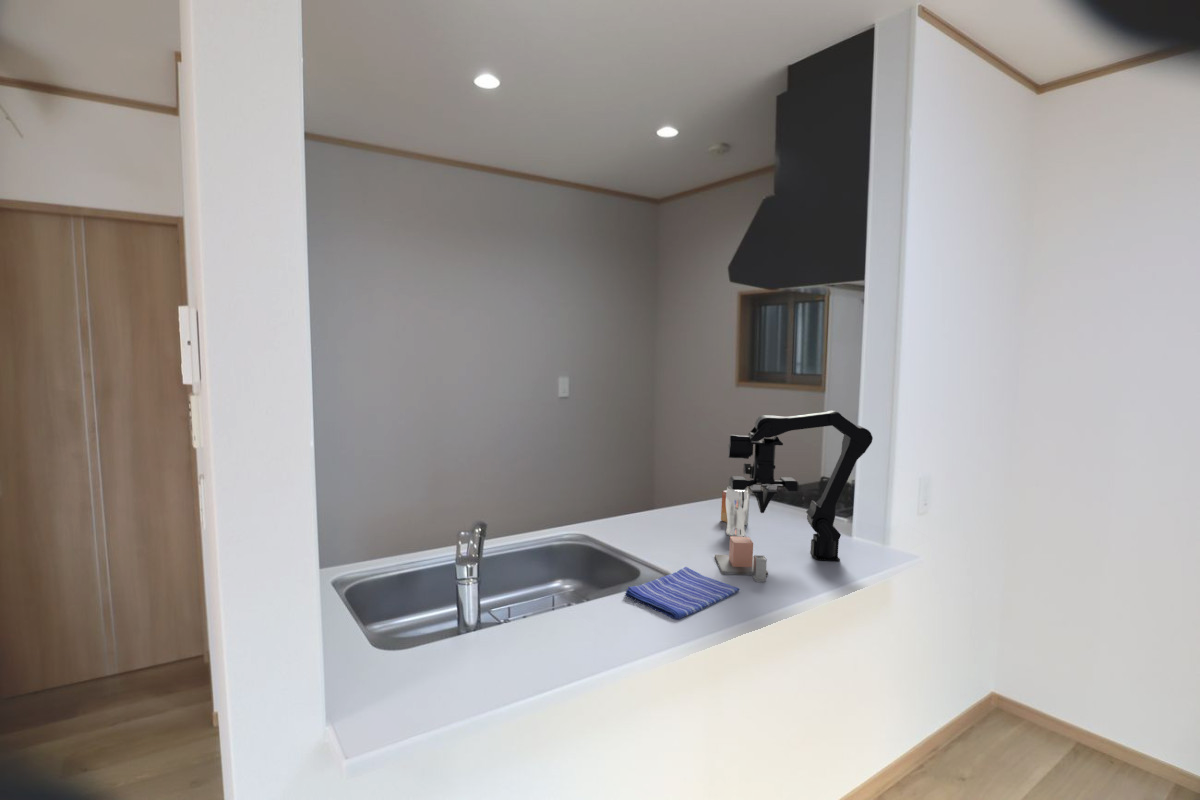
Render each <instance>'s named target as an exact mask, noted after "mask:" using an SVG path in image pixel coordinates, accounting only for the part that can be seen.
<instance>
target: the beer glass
mask: <svg viewBox="0 0 1200 800" xmlns="http://www.w3.org/2000/svg"><path fill="white" fill-rule="evenodd" d="M726 490H727V492H726V512H727V522H728V523H726V529H725V534H726V536H728V535H729V537H730V536H734V537H743V536H744V537H746V532H745V531H746V530H745V529H746V528H745V526H744V523H745V518H746V513H747V508H748V495H749V487H747V488H745V489H744V490H734V489H732V488H731V487H730V486H727V487H726Z"/></svg>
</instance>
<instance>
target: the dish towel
mask: <svg viewBox="0 0 1200 800" xmlns="http://www.w3.org/2000/svg"><path fill="white" fill-rule="evenodd" d="M738 591H740V588H739V587H737V586H733V585H730V584H728V583H725V582H722V581H719V580H717V579H714V578H712V577H708V576H705V575H702V574H701V573H699V572H697V571H696V570H693V569H691V568H689V567H688V566H685V567H683V568H680V569H679V570H678V571H675V572H673V573H670V574H666V575H665V576H661V577H659V578H657V579H653V580H651V581H647V582H645V583H643V584H640V585H632V586H627V589H626V590H625V592H624V594H625V596H627V597H628V598H630V599H632V600H634V601H636V602H638V603H640V604H642V605H644V606H647V607H648V608H651V609H653V610H655V611H657V612H659V613H661V614H663V615H665V616H668V617H670V618H671V619H674V620H680V619H682V618H685V617H688V616H691V615H693V614H696V613H698V612H700V611H702V610H703V609H706V608H709V607H710V606H712V605H714V604H717V603H718V602H722V601H724V600H725V599H727V598H730V597H731V596H733V595H735V594H736V593H737V592H738Z"/></svg>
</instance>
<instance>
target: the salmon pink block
mask: <svg viewBox="0 0 1200 800" xmlns="http://www.w3.org/2000/svg"><path fill="white" fill-rule="evenodd" d="M728 551H729V552H728V555H729V560H730V562H731V564H732V566H733V567H752V560H753V556H754V542H753V541H752V540H751V538H750V537H749V536H744V537H734V536H729V550H728Z"/></svg>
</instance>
